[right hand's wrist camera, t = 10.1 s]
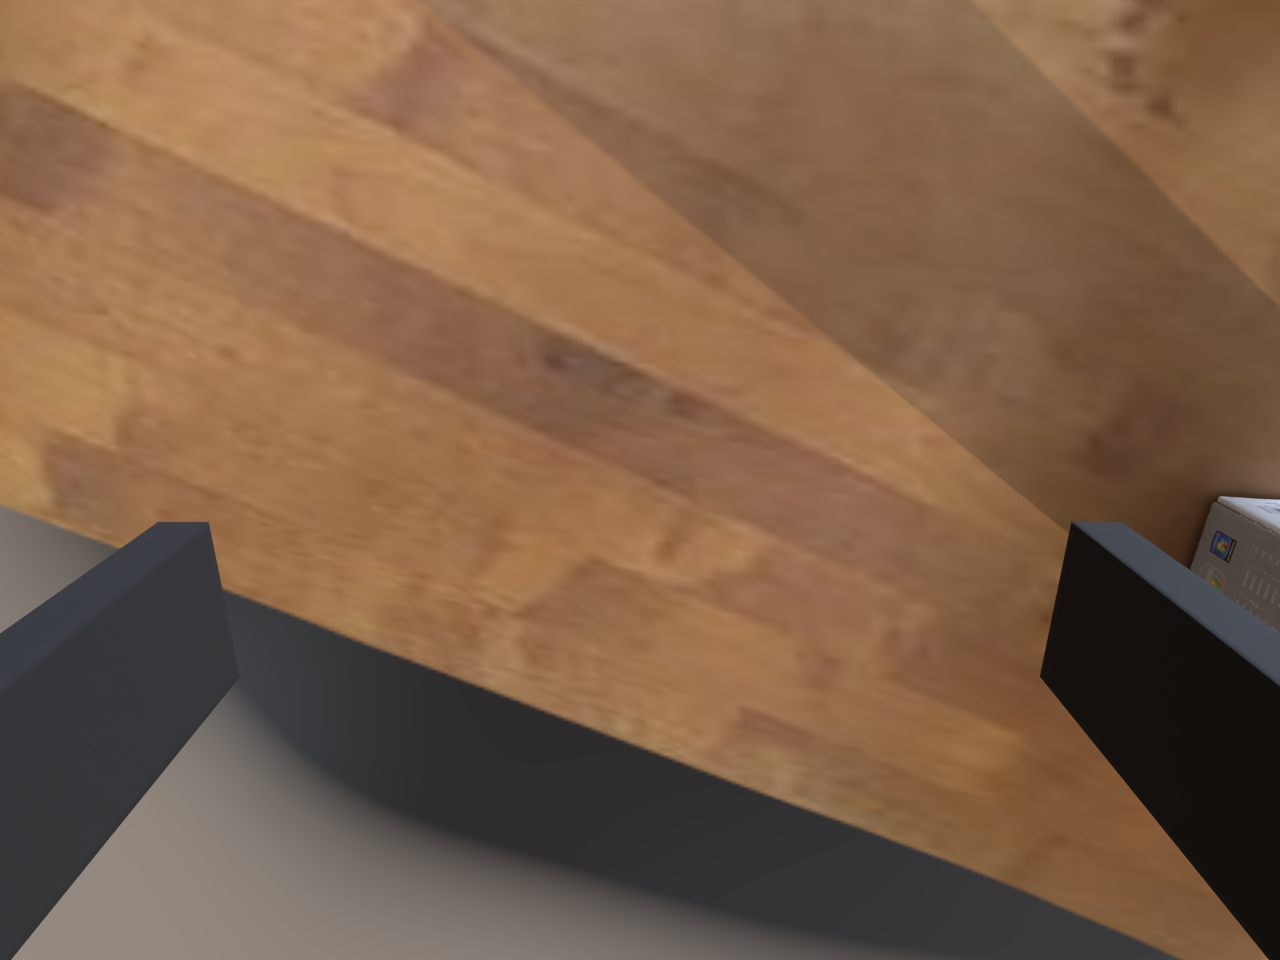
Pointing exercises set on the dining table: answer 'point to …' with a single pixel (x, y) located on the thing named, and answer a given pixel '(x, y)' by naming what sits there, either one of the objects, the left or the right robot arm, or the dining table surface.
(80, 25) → the dining table surface
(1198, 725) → the right robot arm
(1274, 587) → the hard drive box
